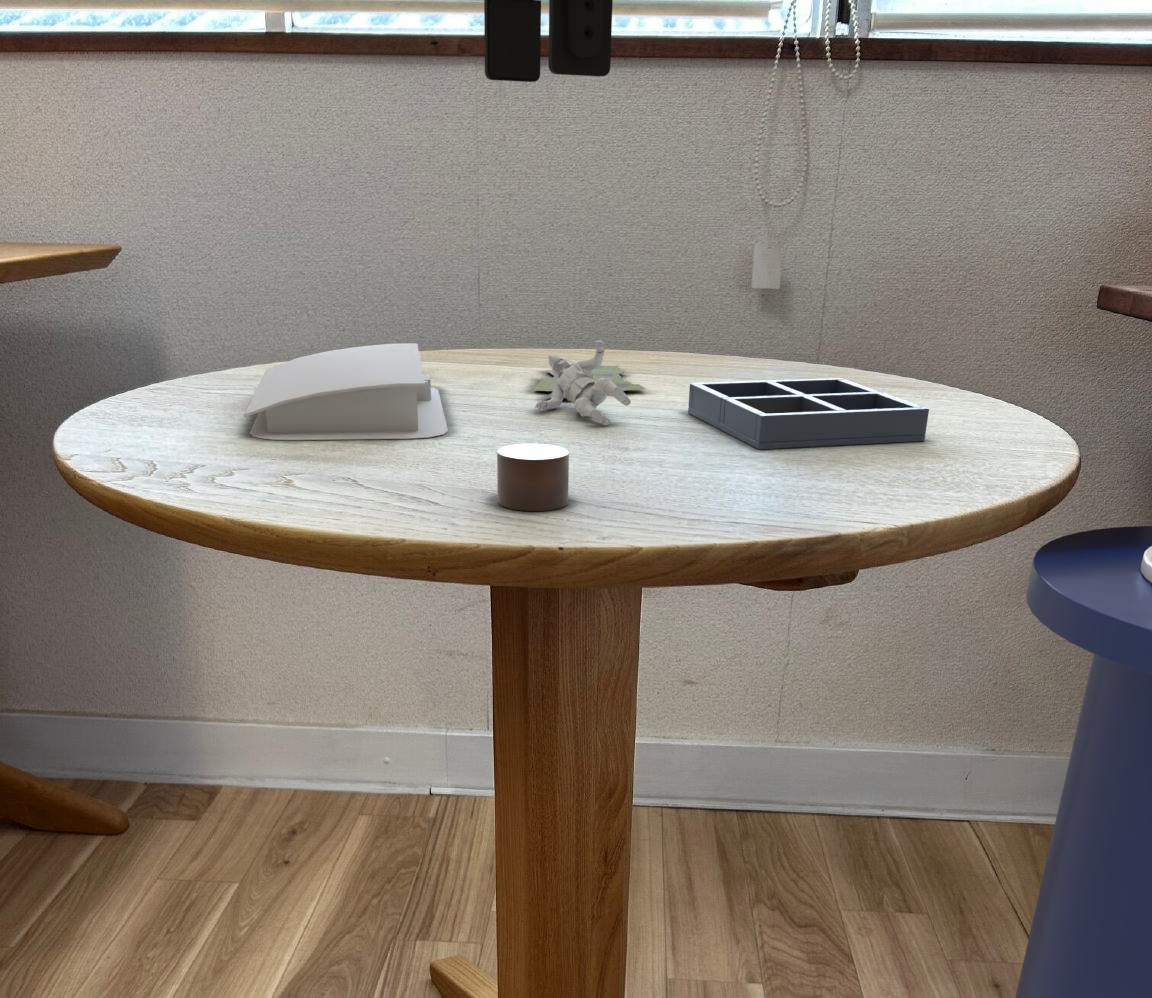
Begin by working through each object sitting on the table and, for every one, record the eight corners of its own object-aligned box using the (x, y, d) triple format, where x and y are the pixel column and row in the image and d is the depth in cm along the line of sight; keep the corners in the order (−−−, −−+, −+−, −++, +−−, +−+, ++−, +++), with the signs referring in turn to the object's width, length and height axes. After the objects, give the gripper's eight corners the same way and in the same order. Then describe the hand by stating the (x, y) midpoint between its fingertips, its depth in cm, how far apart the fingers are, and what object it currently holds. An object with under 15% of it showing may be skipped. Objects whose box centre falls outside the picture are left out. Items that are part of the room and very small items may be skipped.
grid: (924, 441, 97) (929, 408, 96) (758, 449, 93) (761, 415, 92) (837, 406, 109) (840, 377, 108) (687, 412, 105) (689, 382, 104)
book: (436, 385, 114) (435, 341, 113) (449, 438, 94) (448, 385, 92) (268, 386, 112) (264, 341, 110) (245, 440, 92) (239, 387, 90)
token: (577, 508, 77) (578, 457, 75) (507, 513, 75) (507, 461, 74) (556, 491, 80) (557, 442, 79) (490, 495, 79) (489, 445, 78)
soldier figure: (563, 441, 99) (502, 370, 106) (594, 473, 102) (532, 403, 110) (635, 371, 97) (567, 305, 104) (663, 407, 101) (596, 340, 108)
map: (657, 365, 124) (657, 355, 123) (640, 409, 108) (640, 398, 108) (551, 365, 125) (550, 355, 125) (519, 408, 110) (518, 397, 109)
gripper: (704, -381, 53) (678, 76, 60) (554, -274, 67) (549, 85, 74) (542, -414, 50) (537, 68, 58) (421, -295, 64) (430, 79, 72)
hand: (543, 77), depth 66 cm, fingers open, 9 cm apart
